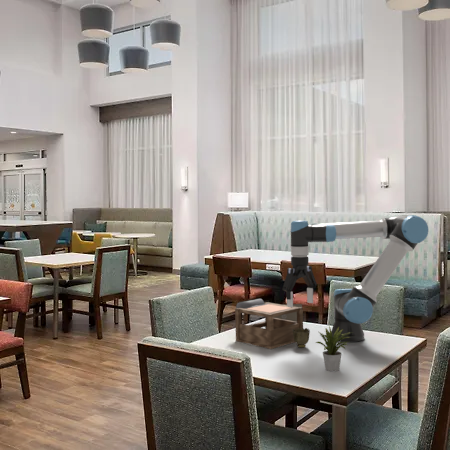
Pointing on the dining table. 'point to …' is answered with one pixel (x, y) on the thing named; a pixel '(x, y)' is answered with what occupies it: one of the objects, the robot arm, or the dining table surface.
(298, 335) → the cup
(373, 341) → the dining table surface
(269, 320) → the wooden slatted crate
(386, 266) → the robot arm
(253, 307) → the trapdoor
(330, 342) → the house plant
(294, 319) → the laptop
